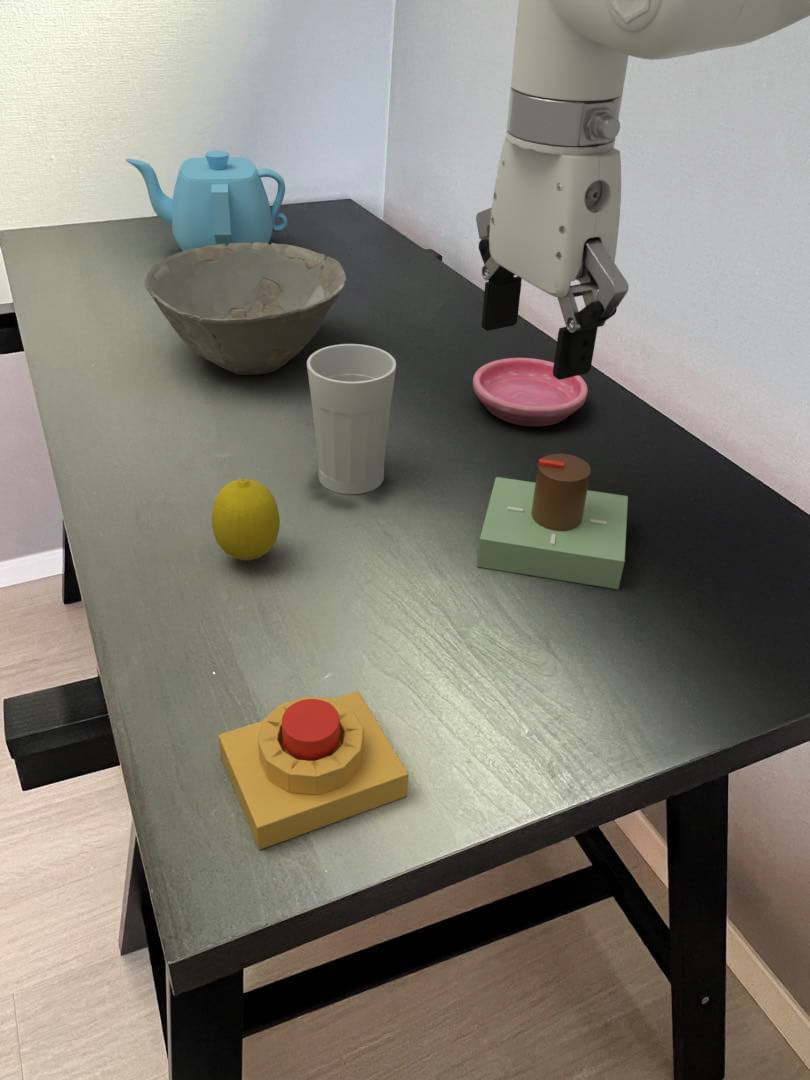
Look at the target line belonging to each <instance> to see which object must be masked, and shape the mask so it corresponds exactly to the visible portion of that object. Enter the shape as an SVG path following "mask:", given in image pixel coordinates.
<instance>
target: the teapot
mask: <svg viewBox="0 0 810 1080" xmlns="http://www.w3.org/2000/svg"><path fill="white" fill-rule="evenodd" d="M204 155H205V157H204V156H203V157H190V158H186V159H185V160H183V162H182V163H181V165H180V167H179V170H178V173H177V176H176V181H175V185H174V189H173V194H172V198H171V197H169V196H168V195H166V194H165V193H164V191H163V190H162V188H161V185H160V182H159V179H158V177H157V173H156V171H155V170H154V168H153V167H152V165H151V164H149V163H148V162H145V161H143V160H139V159H134V158H125V159H124V160H125V161H126V162H127V163H129V164H130V165H131V166H133V167H134V168H136V170H137V171H138V172H139V173H140V174H141V176H142V179H143V180H144V182H145V185H146V189H147V193H148V194H147V195H148V197H149V198H148V199H149V201H150V205H151V207H152V209H153V211H154V213H155V214H156V216H157V217H158V218H159V219H160V220H161V221H162V222H163V223H165V224H167V225H169V226H170V227H171V231H172V235H173V237H174V239H175V242H176V243H177V245H178V246H179V248H180V250H181V252H182V251H185V250H188V249H192V248H194V249H196V248H202V247H206V246H209V245H220V244H223V245H225V246H228V244H230V243H242V242H248V243H251V244H253V243H255V242H262V243H268V244H270V241H271V238H272V235H273V232H275V233H279V232H283V231H285V230H286V228H287V226H288V218H287V215H285V214H284V213H283V212H279V211H280V208H281V206H282V203H283V201H284V198H285V193H286V182H285V179H284V178H283V176H281V175H280V174H279V173H278V172H277V171H275V170H274V169H271V168H261V169H260V168H259V169H257V167H256V165H255V164H254V162H252V160H250V158H247V157H241V156H240V157H238V156H230V153H229V152H228V151H226V150H220V149H217V150H214V149H213V150H208V151H206V152H205V153H204ZM262 178H271V179H273V180H275V181H276V183H277V193H276V196H275V199H274V201H273V204H272V206H271V204H270V202H269V198H268V194H267V191H266V189H265V186H264V184H263V181H262ZM276 219H280V220H281V222H280V223H278V224H276Z"/></svg>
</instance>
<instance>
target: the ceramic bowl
mask: <svg viewBox="0 0 810 1080" xmlns="http://www.w3.org/2000/svg"><path fill="white" fill-rule="evenodd" d="M346 282H347V276H346V272H345V270H344V267H343V266H342V265H341V263H340V262H339V261H338V260H336V259H335V258H332V257H330V256H326V254H325V253H319V252H316V251H313V250H311V249H308V248H305V247H301V246H297V245H291V244H286V243H276V242H275V243H274V242H272V243H262V242H255V243H253V244H251V243H248V242H242V243H230V244H228V246H225V245H223V244H220V245H209V246H206V247H202V248H196V249H194V248H192V249H188V250H185V251H182V250H181V251H180V252H176V253H175V254H171V255H169V256H168V257H166V258H164V259H162V260H161V261H159V262H157V263H155V264H154V265H152V266H151V268H149V269H148V271H147V272H146V274H145V277H144V287H145V289H146V291H147V292H148V293H149V295H150V297H152V300H153V301H154V302H155V304H156V305H157V307H158V308H159V310H160V312H161V313H162V315H163V316H164V317H165V319H166V320H167V322H169V324H170V326H171V327H172V329H173V331H175V333H176V334H177V335H178V336H179V338H180V339H181V340H182V341H183V342H184V343H185V344H186V345H187V346H188V348H190V349H191V350H192V351H193V352H194V353H195V354H197V355H199V356H200V357H202V358H204V359H205V360H207V361H208V362H211V363H213V364H214V365H217V366H219V367H221V368H223V369H225V370H227V371H229V372H230V373H234V374H235V375H241V376H246V375H247V376H249V375H253V376H254V375H266V374H270V373H274V372H275V371H277V370H279V369H280V368H282V367H283V366H285V365H286V364H287V363H288V362H290V361H291V360H292V359H294V358H295V357H296V356H297V355H298V354H299V353H300V352H301V351H302V350H303V349H304V348H305V347H306V346H307V345H308V344H309V342H310V341H311V340H312V339H313V338H314V337H315V336H316V334H317V333H318V331H320V329H321V327H322V325H323V322H324V320H325V317H326V316H327V314H328V313H329V311H330V309H331V308H332V306H333V305H334V304H335V302H336V301H337V299H338V298H339V295H340V294H341V292H342V291H343V289H344V288H345V284H346Z"/></svg>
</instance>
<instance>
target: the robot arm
mask: <svg viewBox="0 0 810 1080" xmlns="http://www.w3.org/2000/svg"><path fill="white" fill-rule="evenodd" d="M808 17H810V0H518V6H517V16H516V28H515V36H514V46H513V48H514V49H513V59H512V69H511V81H510V88H509V89H510V90H509V101H508V110H507V111H508V112H507V123H506V133H505V137H504V140H503V144H502V147H501V152H500V157H499V160H498V166H497V171H496V177H495V182H494V188H493V195H492V202H491V207H490V208H487V209H484V210H482V211H479V212H477V213H476V216H475V222H476V226H477V233H478V238H479V240H480V241H479V242H478V251H479V253H480V257H481V260H482V262H483V266H482V268H481V276H482V279H483V280H484V281H485V282H484V293H483V305H482V316H481V328H482V329H483V330H485V331H486V332H487V331H488V332H489V331H493V330H499V329H504V328H509V327H513V326H515V325H517V323H518V317H519V310H520V309H519V308H520V298H521V291H522V280H523V281H525V282H527V283H528V284H530V285H532V286H534V287H536V289H537V288H538V289H539V290H541V291H543V292H544V293H546V294H547V295H550V296H552V297H555V298H557V300H558V304H559V308H560V311H561V314H562V318H563V320H564V324H565V326H563V327H559V329H558V332H557V339H556V346H555V353H554V360H553V363H554V367H553V376H554V377H556V378H557V379H559V380H561V379H566V378H570V377H574V376H578V375H579V376H581V375H585V374H588V373H590V371H591V368H592V362H593V357H594V351H595V347H596V346H595V345H596V340H597V333H598V328H601V327H603V326H605V324H606V321H608V320H609V319H611V318H612V317H613V316H615V315H616V313H617V310H618V307H619V306H620V304H621V303H622V301H623V299H624V298H625V296H626V295H627V293H628V292H629V283H628V281H627V279H626V278H625V277H624V275H623V274H622V272H621V270H620V269H619V267H618V266H617V265H616V264H615V261H616V256H617V255H616V254H617V246H618V237H619V230H620V229H619V227H620V218H621V203H622V160H621V151H620V150H619V149H617V148H615V144H616V137H617V136H618V135H619V132H620V130H621V122H620V120H619V119H620V114H621V113H620V112H621V106H622V101H623V95H624V94H623V93H624V87H625V81H626V75H627V69H628V68H627V67H628V62H629V56H630V57H633V58H636V59H637V58H638V59H641V60H652V61H653V60H668V59H672V58H678V57H683V56H684V57H686V56H691V55H695V54H699V53H704V52H708V51H709V52H710V51H714V50H718V49H726V48H733V47H739V46H743V45H746V44H750V43H753V42H755V41H758V40H760V39H763V38H765V37H768V36H770V35H772V34H775V33H777V32H780V31H781V30H783V29H786V28H787V27H789V26H791V25H794V24H796V23H797V22H800V21H802V20H804V19H806V18H808ZM575 281H578V282H579V284H573V285H571V283H572V282H575ZM577 297H582V299H583V302H584V307H583V308H582V309H581V310H579V309H578V305H577V302H576V299H575V298H577Z"/></svg>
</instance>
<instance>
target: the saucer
mask: <svg viewBox="0 0 810 1080" xmlns="http://www.w3.org/2000/svg"><path fill="white" fill-rule="evenodd" d="M553 367H554V361H548V360H545V359H539V358H531V357H510V358H509V357H507V358H502V359H496V360H493V361H490V362H487V363H486V364H484V365H482V366H480V367H479V368H478V369H477V370H476V371H475V373H474V375H473V377H472V389H473V392H474V393H475V395H476V397H477V398H478V400H479V401H480V402H481V403H482V405H484V406H485V408H486V410H487V411H488V412H489V413H490V414H491V415H493V416H494V417H496V418H497V419H499V420H501V421H504V422H506V423H509V424H513V425H517V426H525V427H548V426H551V425H556V424H559V423H560V422H563V421H564V420H566V419H567V418H568V417H569V416H571V415H573V414H575V413H576V412H577V411H578V409H581V408H582V406H584V404H585V402H586V400H587V397H588V391H589V390H588V389H589V387H588V385H587V382H585V380H584V379H583V377H582V376H581V375H578V376H574V377H570V378H566V379H561V380H559V379H557V378H556V377H554V376H553Z"/></svg>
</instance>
